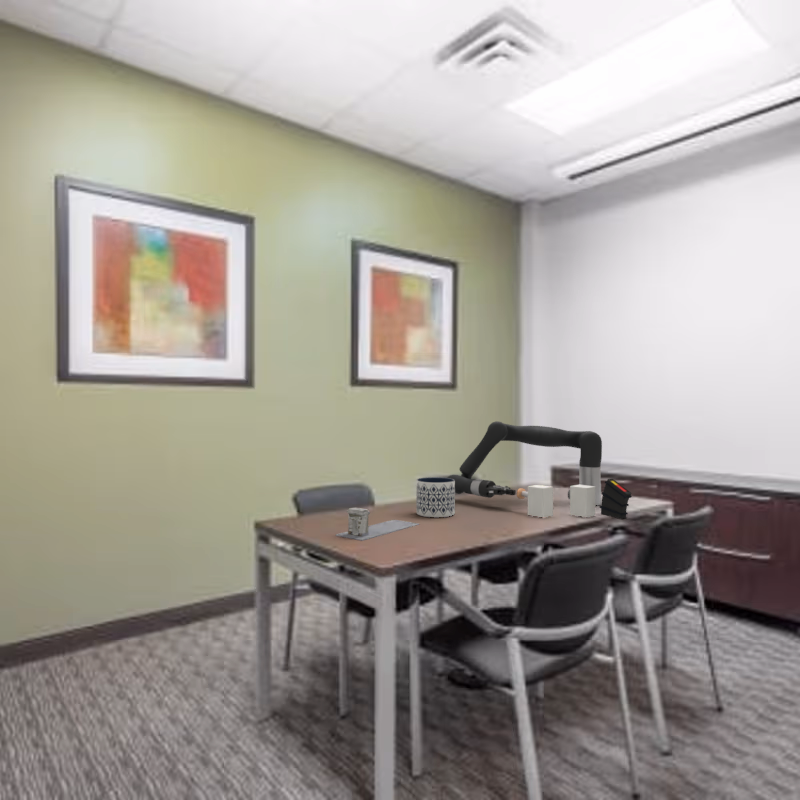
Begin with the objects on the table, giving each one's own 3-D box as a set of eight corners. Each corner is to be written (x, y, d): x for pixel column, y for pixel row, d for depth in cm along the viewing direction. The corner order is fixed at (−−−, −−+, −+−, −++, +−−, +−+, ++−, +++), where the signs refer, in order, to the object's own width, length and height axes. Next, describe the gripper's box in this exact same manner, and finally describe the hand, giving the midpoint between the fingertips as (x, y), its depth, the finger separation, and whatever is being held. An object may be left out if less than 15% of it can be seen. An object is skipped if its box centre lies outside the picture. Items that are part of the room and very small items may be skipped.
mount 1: (537, 513, 250) (537, 484, 250) (553, 516, 244) (553, 486, 244) (527, 515, 245) (527, 486, 245) (543, 518, 239) (543, 488, 239)
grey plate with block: (335, 536, 208) (335, 509, 208) (393, 521, 234) (393, 496, 234) (362, 542, 200) (362, 513, 200) (419, 525, 227) (419, 500, 227)
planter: (412, 511, 253) (413, 477, 253) (449, 510, 256) (449, 476, 256) (420, 518, 238) (421, 482, 238) (459, 517, 241) (459, 482, 241)
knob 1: (523, 497, 253) (523, 487, 253) (539, 500, 247) (539, 489, 247) (516, 499, 250) (516, 488, 250) (533, 501, 244) (533, 491, 244)
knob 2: (573, 498, 251) (573, 488, 251) (591, 501, 245) (591, 490, 245) (567, 500, 248) (567, 489, 248) (585, 502, 242) (586, 492, 242)
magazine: (600, 508, 253) (612, 478, 247) (622, 526, 242) (636, 496, 237) (594, 509, 251) (606, 478, 245) (616, 527, 241) (629, 496, 235)
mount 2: (579, 512, 251) (579, 484, 251) (595, 515, 245) (595, 486, 245) (569, 515, 246) (570, 486, 246) (586, 517, 241) (586, 488, 241)
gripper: (473, 481, 262) (505, 485, 250) (492, 478, 271) (524, 482, 258) (473, 498, 262) (505, 503, 250) (492, 494, 271) (524, 499, 258)
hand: (514, 492), depth 254 cm, fingers closed
